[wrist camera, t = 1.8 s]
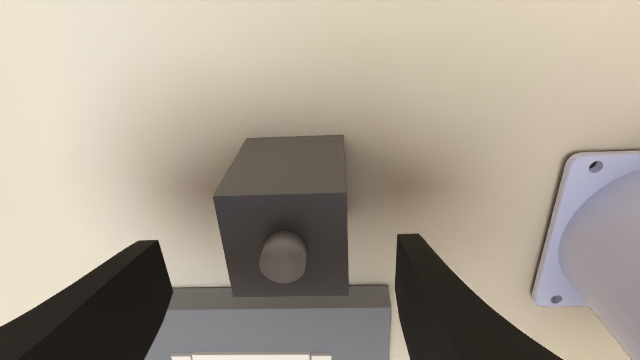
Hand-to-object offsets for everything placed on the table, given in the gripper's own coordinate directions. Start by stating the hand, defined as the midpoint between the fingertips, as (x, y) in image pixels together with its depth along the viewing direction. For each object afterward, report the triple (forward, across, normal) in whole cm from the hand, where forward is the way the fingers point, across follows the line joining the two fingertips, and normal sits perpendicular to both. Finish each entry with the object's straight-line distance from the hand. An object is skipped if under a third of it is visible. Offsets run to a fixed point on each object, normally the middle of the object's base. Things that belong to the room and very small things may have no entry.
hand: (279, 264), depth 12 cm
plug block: (+6, 0, 0) cm, 6 cm away
